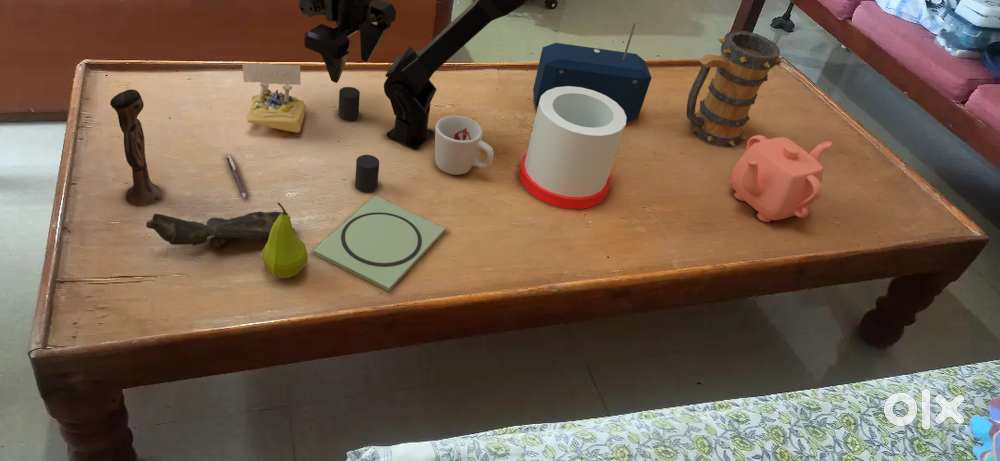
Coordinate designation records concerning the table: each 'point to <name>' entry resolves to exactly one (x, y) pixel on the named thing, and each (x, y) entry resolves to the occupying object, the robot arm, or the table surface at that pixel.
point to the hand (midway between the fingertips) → (350, 71)
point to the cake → (275, 97)
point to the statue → (213, 228)
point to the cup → (459, 145)
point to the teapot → (778, 177)
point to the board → (380, 242)
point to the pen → (236, 176)
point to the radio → (595, 74)
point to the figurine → (135, 148)
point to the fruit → (284, 249)
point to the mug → (731, 87)
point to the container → (572, 147)
